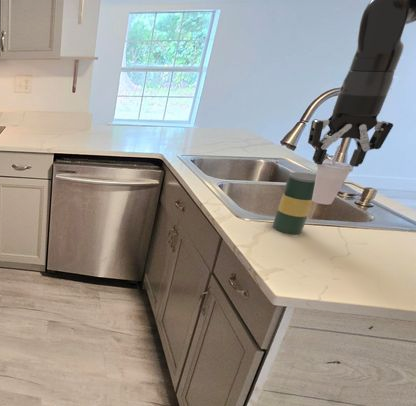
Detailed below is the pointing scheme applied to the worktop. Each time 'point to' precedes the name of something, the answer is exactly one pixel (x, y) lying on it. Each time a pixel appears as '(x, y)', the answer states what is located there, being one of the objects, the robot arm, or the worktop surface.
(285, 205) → the tin can
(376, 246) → the worktop surface
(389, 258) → the worktop surface
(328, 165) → the smoothie
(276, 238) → the worktop surface
